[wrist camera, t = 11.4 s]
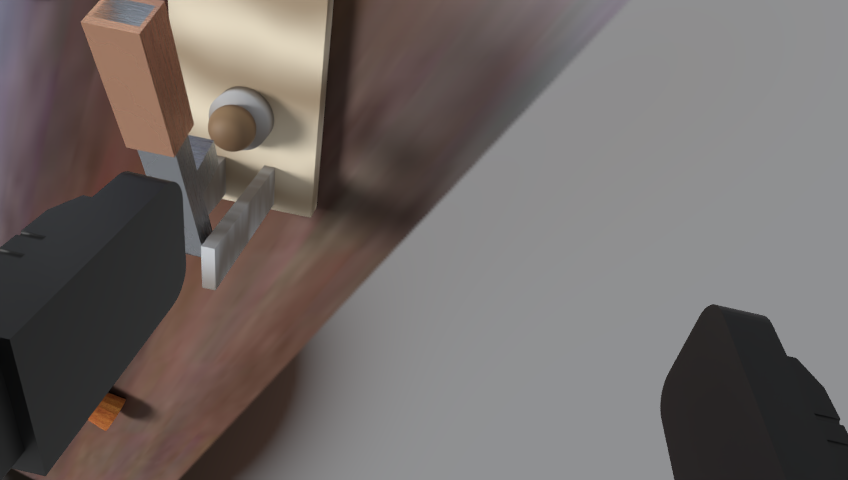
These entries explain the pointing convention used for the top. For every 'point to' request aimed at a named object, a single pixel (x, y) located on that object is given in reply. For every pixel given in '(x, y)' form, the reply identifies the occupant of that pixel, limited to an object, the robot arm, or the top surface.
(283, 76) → the base
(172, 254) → the robot arm
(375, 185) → the top surface
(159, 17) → the lever
